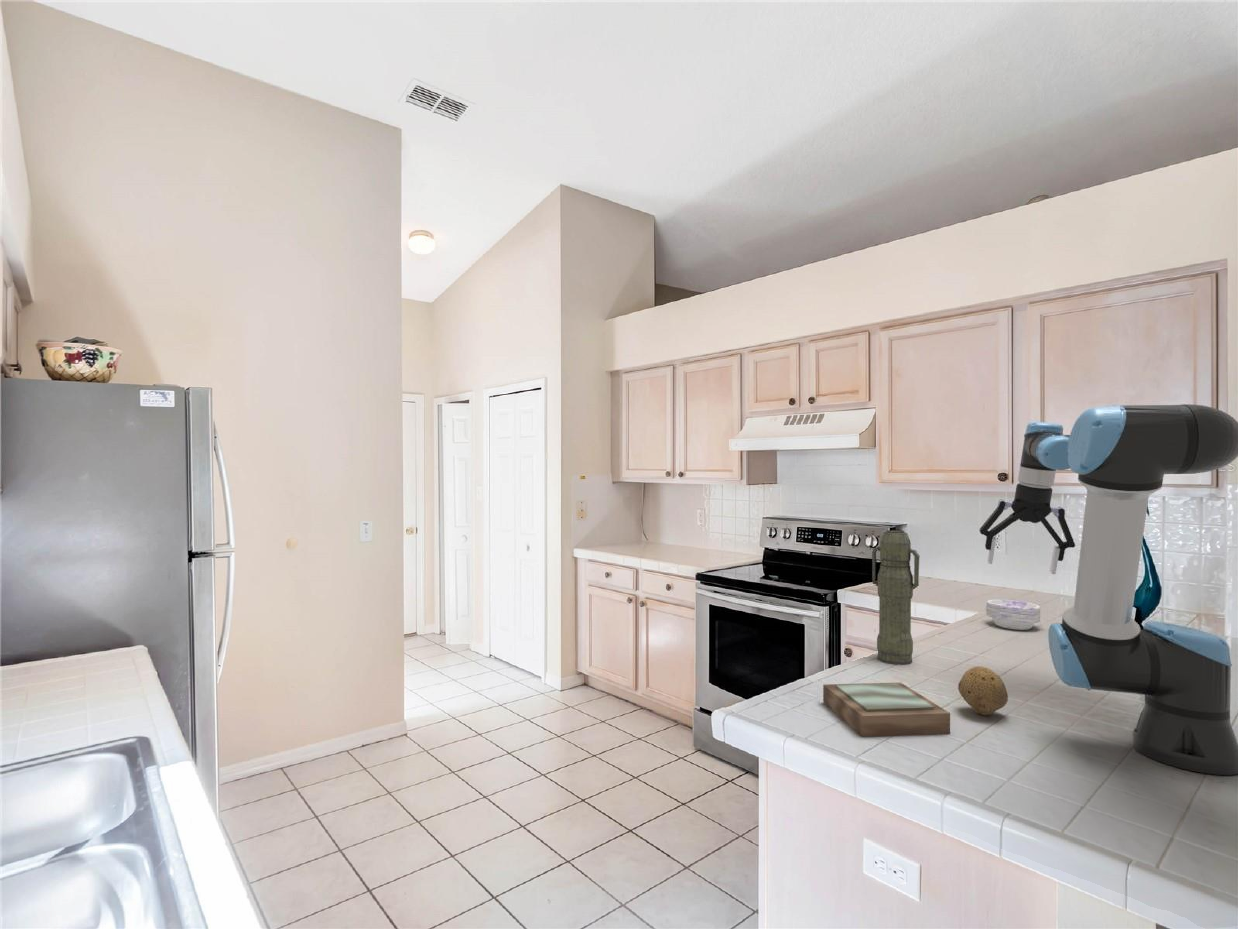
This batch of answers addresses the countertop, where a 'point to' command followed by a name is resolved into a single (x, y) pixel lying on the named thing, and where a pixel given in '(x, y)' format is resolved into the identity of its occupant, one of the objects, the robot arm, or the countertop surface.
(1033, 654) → the countertop surface
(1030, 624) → the paper bowls
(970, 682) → the brown rounded lump
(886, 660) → the thermos
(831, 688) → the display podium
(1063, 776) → the countertop surface
